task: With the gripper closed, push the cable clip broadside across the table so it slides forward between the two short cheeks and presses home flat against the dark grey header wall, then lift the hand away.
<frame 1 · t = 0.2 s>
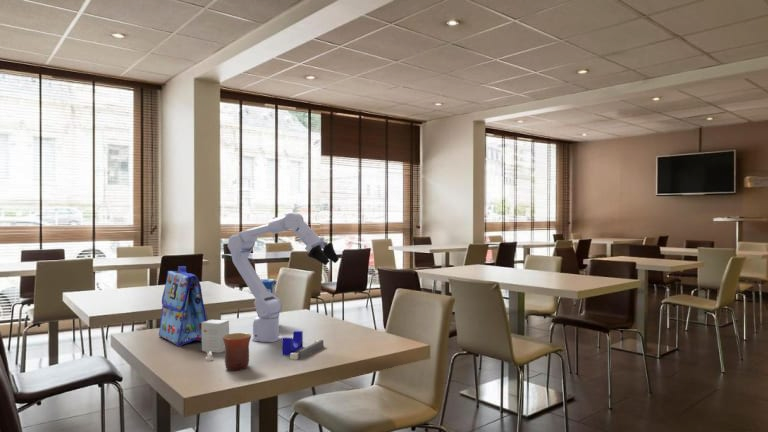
hand: (332, 262, 193), 31 cm above the table, tool tilted 45°, fingers open, 7 cm apart
milk carton: (266, 326, 228), on the table
small box: (215, 350, 187), on the table
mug: (238, 367, 166), on the table
lunch bag: (184, 339, 205), on the table
power adapter: (205, 362, 174), on the table
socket: (311, 352, 183), on the table
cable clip: (290, 351, 186), on the table
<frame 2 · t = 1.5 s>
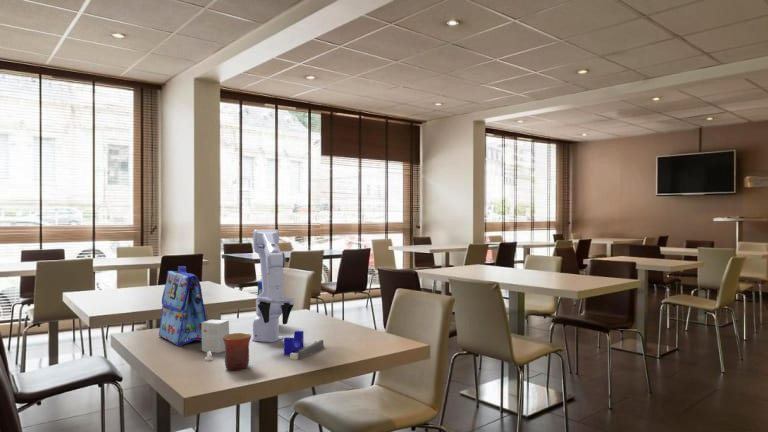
hand: (275, 323, 188), 9 cm above the table, tool pointing down, fingers open, 7 cm apart
nothing on the table moved.
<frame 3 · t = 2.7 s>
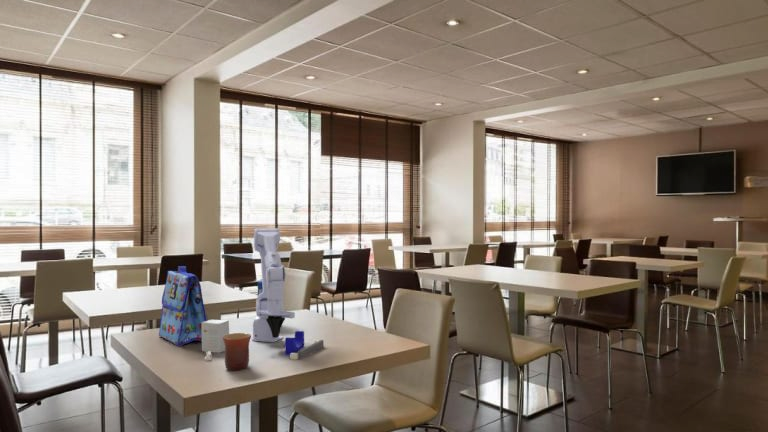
hand: (275, 337, 188), 4 cm above the table, tool pointing down, fingers closed
nothing on the table moved.
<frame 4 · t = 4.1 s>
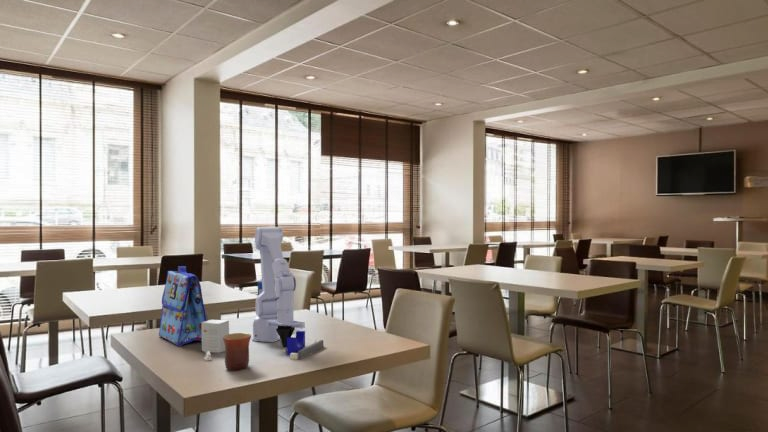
hand: (285, 347, 187), 1 cm above the table, tool pointing down, fingers closed
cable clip: (294, 351, 186), on the table, touching gripper
everything else where it was.
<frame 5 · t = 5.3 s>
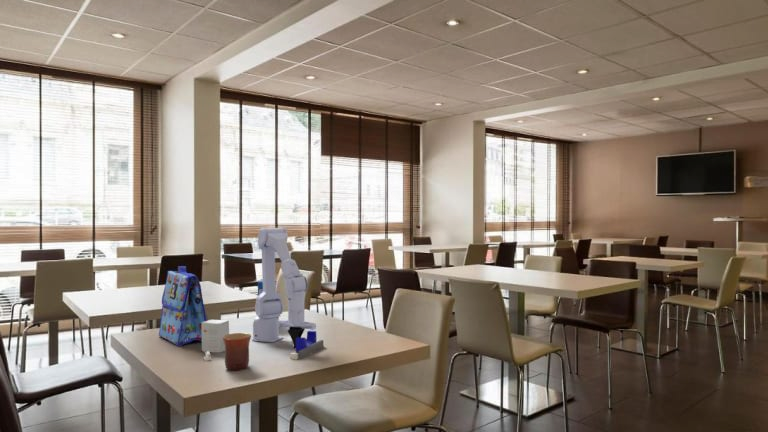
hand: (296, 348, 185), 1 cm above the table, tool pointing down, fingers closed, pressing on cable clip
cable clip: (304, 351, 186), on the table, touching gripper, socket
everything else where it was.
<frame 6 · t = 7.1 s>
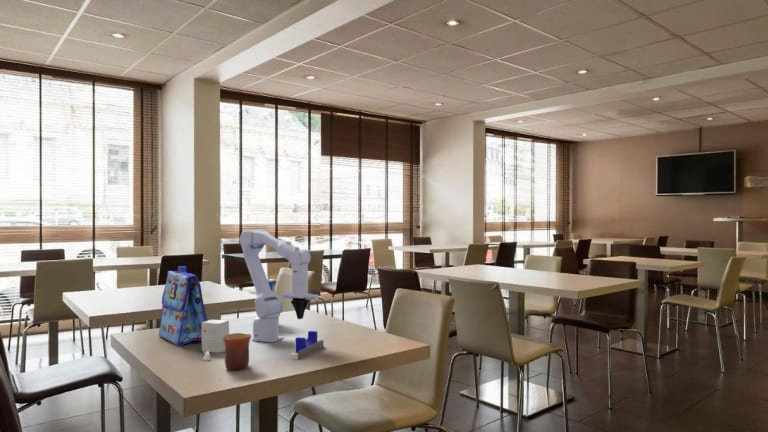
hand: (300, 318, 194), 10 cm above the table, tool pointing down, fingers closed
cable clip: (304, 351, 186), on the table
everything else where it was.
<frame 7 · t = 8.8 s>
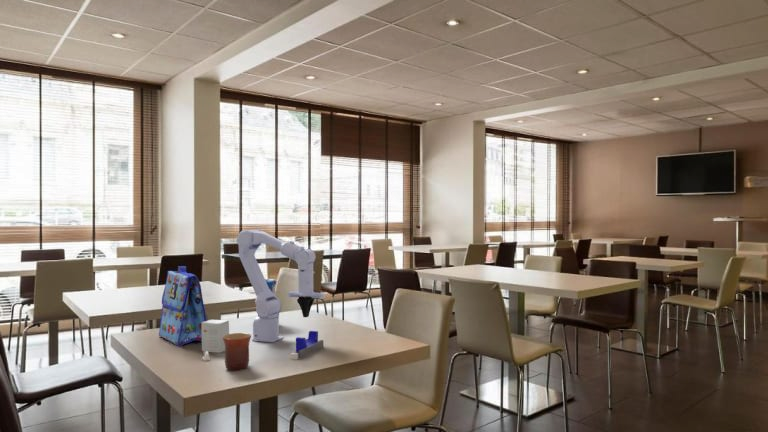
hand: (305, 316, 197), 10 cm above the table, tool pointing down, fingers closed
at the end: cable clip inside the target area on the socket (1.6 cm from its centre), point 0.0 cm above the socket's base; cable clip tilted 0°; the gripper is holding nothing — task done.
